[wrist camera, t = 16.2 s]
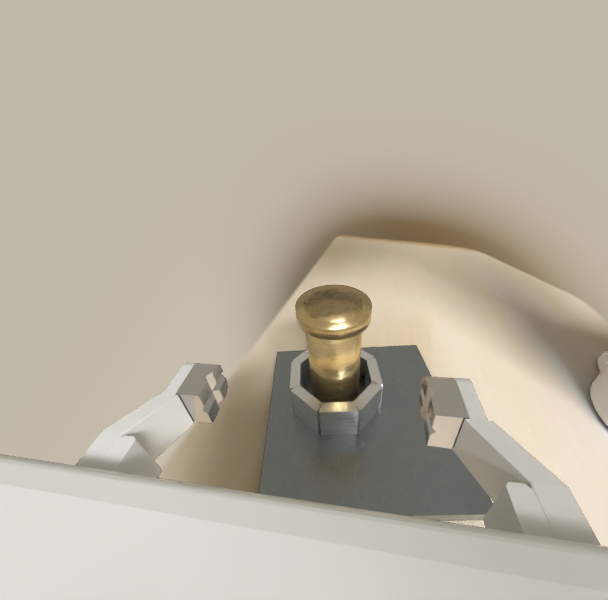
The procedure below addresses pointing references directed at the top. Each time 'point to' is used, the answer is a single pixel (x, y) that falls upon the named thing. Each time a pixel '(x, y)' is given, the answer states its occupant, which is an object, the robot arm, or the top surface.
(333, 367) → the brass fitting
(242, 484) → the top surface
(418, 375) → the flange base
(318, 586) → the robot arm
